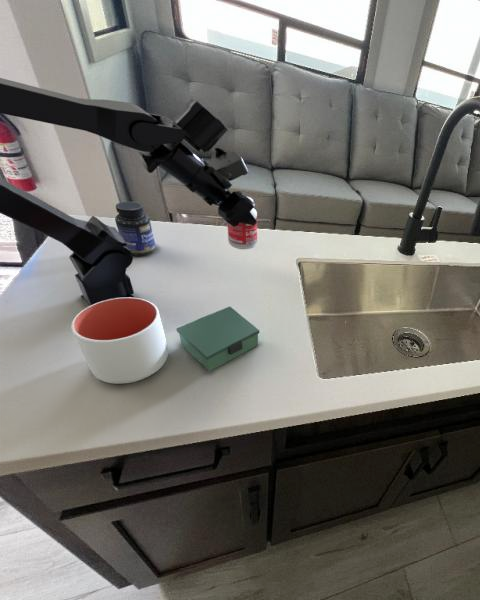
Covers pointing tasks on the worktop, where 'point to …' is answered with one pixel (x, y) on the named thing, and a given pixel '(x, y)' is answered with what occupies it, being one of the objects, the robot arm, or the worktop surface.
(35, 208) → the robot arm
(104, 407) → the worktop surface
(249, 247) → the pill bottle
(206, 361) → the lunchbox
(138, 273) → the worktop surface
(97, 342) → the cup
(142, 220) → the pill bottle
